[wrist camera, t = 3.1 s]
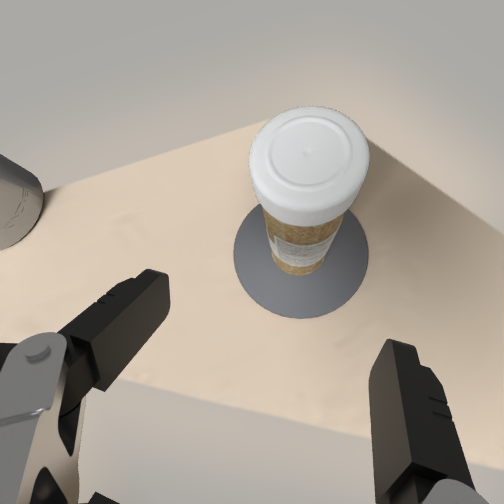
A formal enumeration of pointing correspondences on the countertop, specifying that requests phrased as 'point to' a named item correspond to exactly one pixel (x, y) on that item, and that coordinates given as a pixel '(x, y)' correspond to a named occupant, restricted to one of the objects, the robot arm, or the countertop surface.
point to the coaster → (300, 287)
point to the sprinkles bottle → (306, 181)
